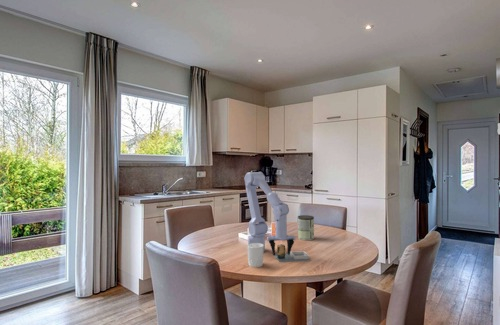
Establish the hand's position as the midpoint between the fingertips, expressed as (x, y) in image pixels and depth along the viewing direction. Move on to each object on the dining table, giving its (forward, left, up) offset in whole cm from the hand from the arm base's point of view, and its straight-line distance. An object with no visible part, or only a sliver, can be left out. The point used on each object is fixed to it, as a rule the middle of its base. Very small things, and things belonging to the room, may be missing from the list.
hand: (281, 254), depth 147 cm
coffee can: (+25, +37, -2) cm, 45 cm away
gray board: (+5, 0, -2) cm, 6 cm away
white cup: (-15, -8, -2) cm, 17 cm away
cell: (0, 0, -2) cm, 2 cm away
